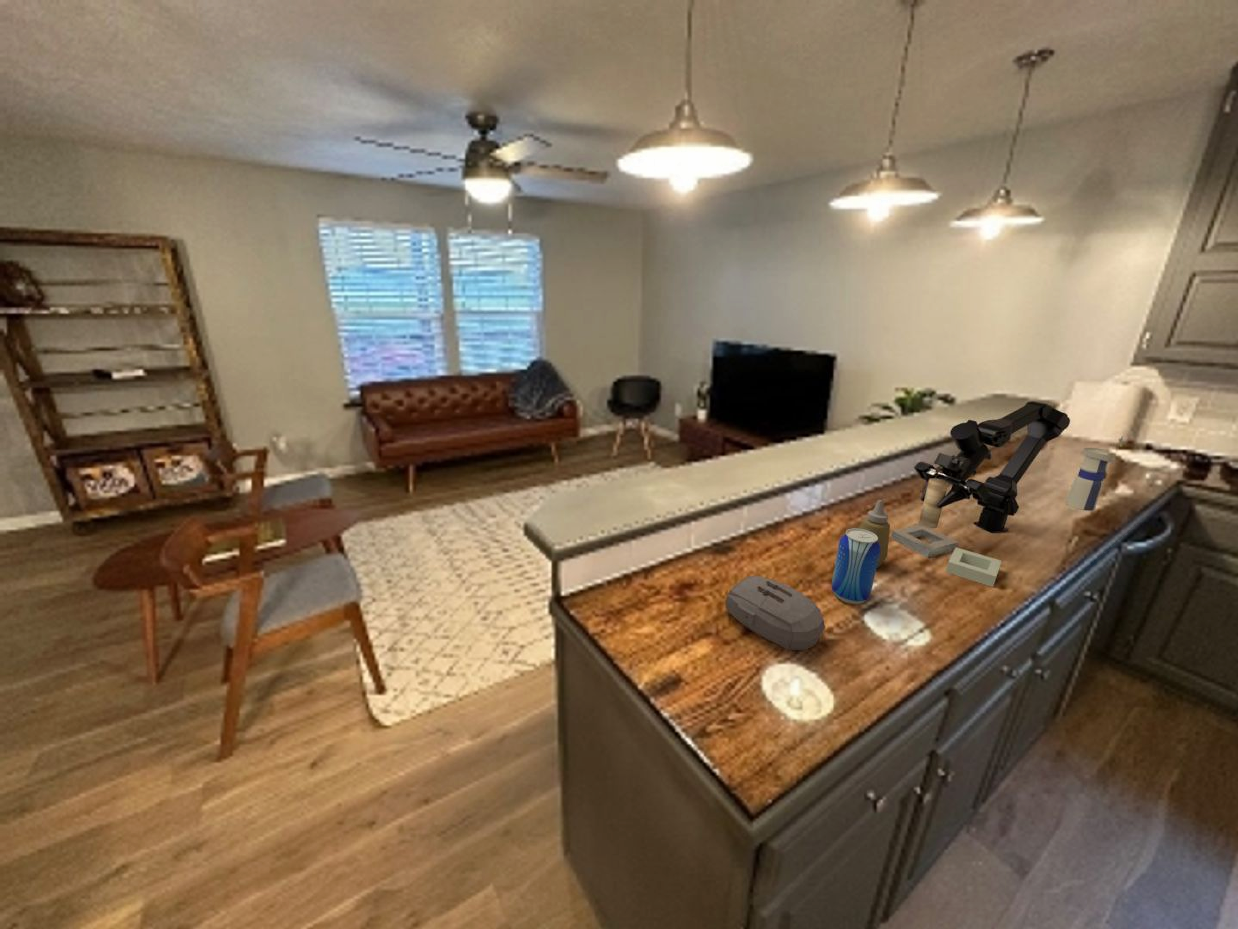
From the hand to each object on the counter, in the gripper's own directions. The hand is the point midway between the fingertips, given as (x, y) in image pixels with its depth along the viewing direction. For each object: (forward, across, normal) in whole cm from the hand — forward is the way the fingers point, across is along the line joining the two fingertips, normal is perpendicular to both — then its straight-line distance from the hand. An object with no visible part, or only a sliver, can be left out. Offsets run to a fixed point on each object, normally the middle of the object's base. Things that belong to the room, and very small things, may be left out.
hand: (929, 503), depth 135 cm
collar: (+9, +15, +9) cm, 19 cm away
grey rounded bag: (+52, +14, -34) cm, 64 cm away
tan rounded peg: (+4, 0, +6) cm, 7 cm away
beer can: (+36, +11, -18) cm, 41 cm away
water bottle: (-44, 0, +63) cm, 77 cm away
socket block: (+8, 0, +10) cm, 13 cm away
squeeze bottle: (+24, +2, -6) cm, 25 cm away
